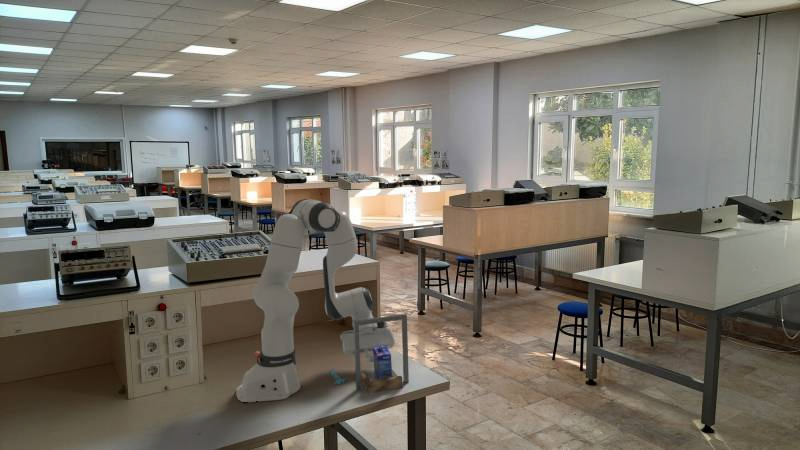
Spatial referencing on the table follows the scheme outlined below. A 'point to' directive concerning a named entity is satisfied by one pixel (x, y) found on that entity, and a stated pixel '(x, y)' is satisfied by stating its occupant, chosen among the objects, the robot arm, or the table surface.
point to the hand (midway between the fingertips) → (372, 360)
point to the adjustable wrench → (337, 379)
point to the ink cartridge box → (382, 362)
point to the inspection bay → (382, 383)
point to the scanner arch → (380, 324)
